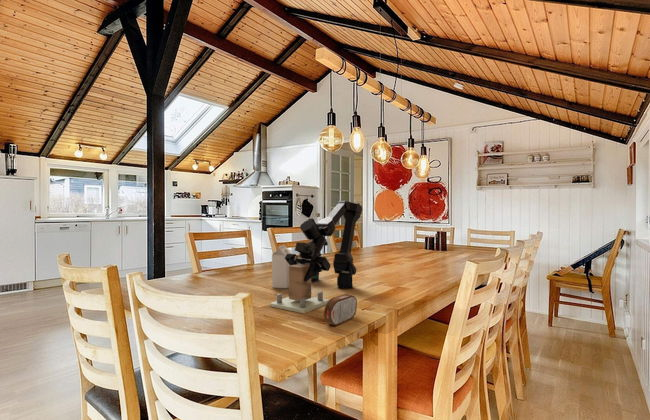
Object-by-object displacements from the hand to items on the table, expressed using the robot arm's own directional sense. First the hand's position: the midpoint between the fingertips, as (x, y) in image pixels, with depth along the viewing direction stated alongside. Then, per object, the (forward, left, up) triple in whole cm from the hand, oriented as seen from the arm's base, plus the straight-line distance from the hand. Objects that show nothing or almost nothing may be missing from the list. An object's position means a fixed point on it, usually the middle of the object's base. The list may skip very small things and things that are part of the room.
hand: (297, 280), depth 135 cm
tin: (-17, +18, -10) cm, 26 cm away
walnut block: (-1, -1, -7) cm, 7 cm away
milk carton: (+11, -30, -10) cm, 34 cm away
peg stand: (-1, -1, -9) cm, 10 cm away
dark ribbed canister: (0, -44, -10) cm, 45 cm away
